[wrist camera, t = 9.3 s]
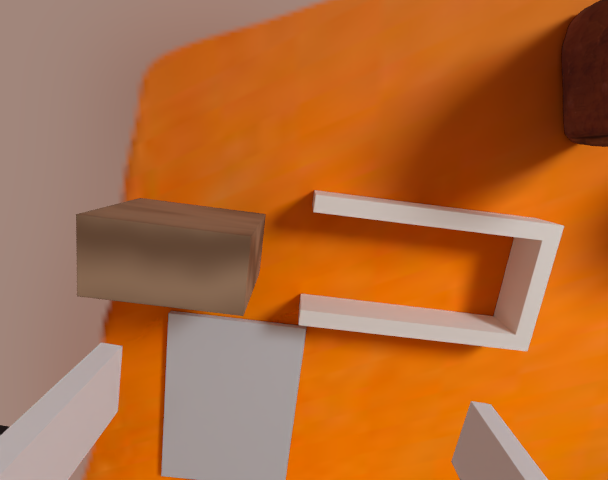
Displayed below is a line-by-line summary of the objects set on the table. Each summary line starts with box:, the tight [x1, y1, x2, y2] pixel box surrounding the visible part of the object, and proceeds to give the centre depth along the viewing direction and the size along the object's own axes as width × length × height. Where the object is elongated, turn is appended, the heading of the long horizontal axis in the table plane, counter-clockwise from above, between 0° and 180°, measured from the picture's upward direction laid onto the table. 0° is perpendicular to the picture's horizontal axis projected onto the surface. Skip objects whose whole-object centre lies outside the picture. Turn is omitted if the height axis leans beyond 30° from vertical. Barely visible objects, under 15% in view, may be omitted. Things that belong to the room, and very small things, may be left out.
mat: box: [161, 311, 306, 480], centre depth 39 cm, size 20×14×1 cm
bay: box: [299, 190, 564, 351], centre depth 34 cm, size 12×22×4 cm, turn 83°
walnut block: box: [76, 198, 266, 316], centre depth 30 cm, size 6×12×10 cm, turn 83°
